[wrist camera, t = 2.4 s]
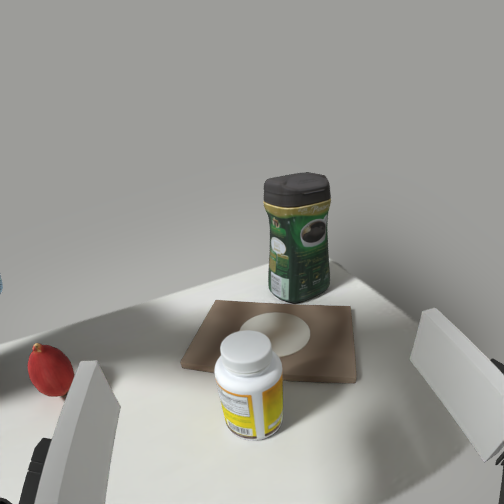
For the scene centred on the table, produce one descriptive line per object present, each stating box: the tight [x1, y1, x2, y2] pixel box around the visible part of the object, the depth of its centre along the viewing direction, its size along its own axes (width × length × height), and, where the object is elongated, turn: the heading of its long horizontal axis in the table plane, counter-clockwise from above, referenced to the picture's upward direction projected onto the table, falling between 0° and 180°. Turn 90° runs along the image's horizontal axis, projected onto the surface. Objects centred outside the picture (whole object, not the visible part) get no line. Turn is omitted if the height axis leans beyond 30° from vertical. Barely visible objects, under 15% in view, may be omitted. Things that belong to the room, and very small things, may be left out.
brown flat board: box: [181, 300, 356, 383], centre depth 39 cm, size 20×14×1 cm
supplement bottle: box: [214, 330, 283, 440], centre depth 25 cm, size 6×6×10 cm
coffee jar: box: [264, 172, 331, 303], centre depth 46 cm, size 10×8×19 cm
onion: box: [28, 343, 74, 396], centre depth 28 cm, size 6×6×8 cm
